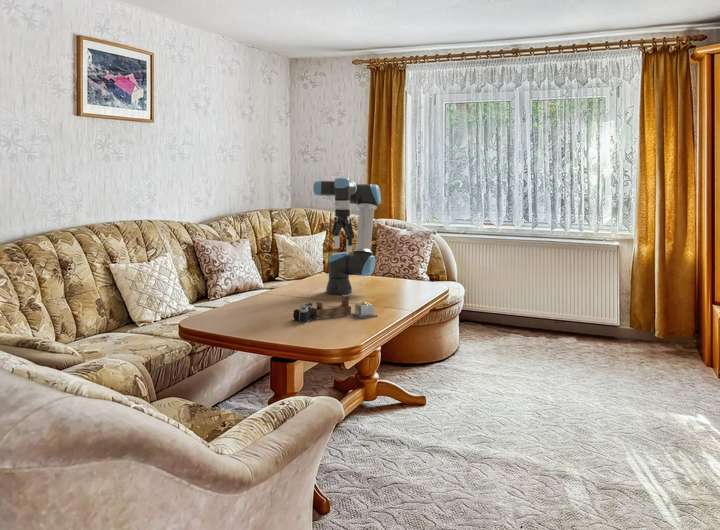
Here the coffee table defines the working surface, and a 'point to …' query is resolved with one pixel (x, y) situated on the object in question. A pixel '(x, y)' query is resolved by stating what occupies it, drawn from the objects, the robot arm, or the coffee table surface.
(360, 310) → the grey gold knob block
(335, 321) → the coffee table surface
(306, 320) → the camera
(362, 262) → the robot arm
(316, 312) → the plane body
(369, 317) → the felt mat
